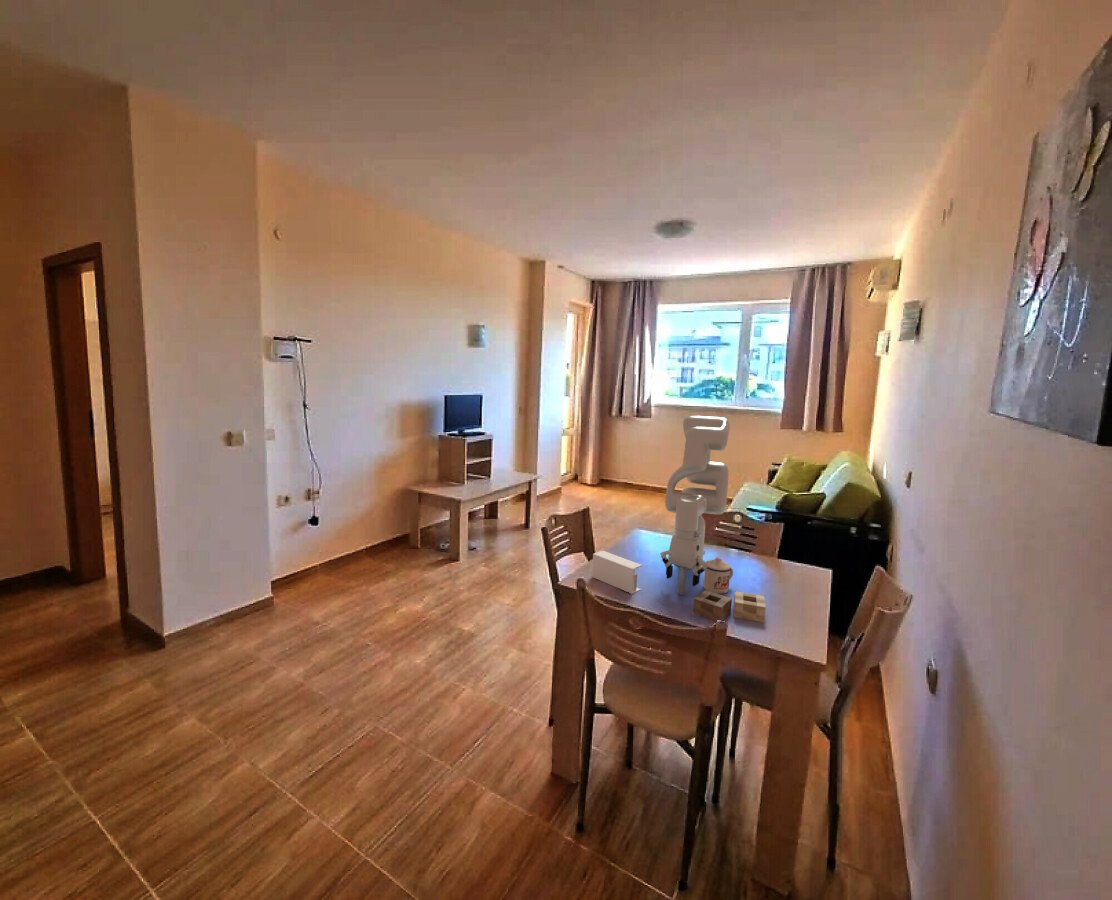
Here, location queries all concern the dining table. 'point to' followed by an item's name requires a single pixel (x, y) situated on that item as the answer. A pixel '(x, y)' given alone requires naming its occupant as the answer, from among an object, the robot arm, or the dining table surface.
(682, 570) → the needle dowel
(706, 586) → the teacup with lid
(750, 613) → the checkered wooden socket block
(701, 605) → the brown square-hole block
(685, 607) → the dining table surface
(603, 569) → the white channel beam
